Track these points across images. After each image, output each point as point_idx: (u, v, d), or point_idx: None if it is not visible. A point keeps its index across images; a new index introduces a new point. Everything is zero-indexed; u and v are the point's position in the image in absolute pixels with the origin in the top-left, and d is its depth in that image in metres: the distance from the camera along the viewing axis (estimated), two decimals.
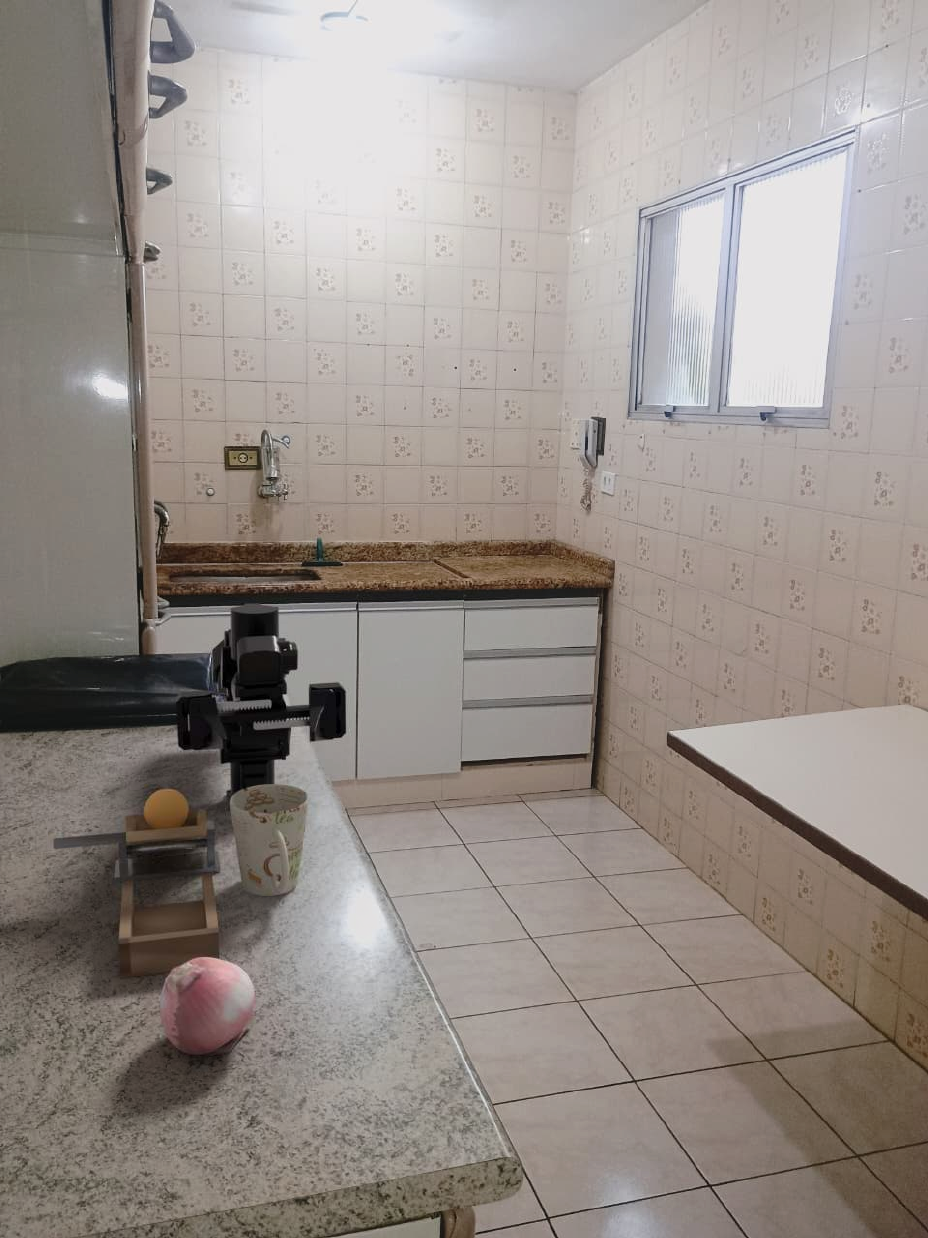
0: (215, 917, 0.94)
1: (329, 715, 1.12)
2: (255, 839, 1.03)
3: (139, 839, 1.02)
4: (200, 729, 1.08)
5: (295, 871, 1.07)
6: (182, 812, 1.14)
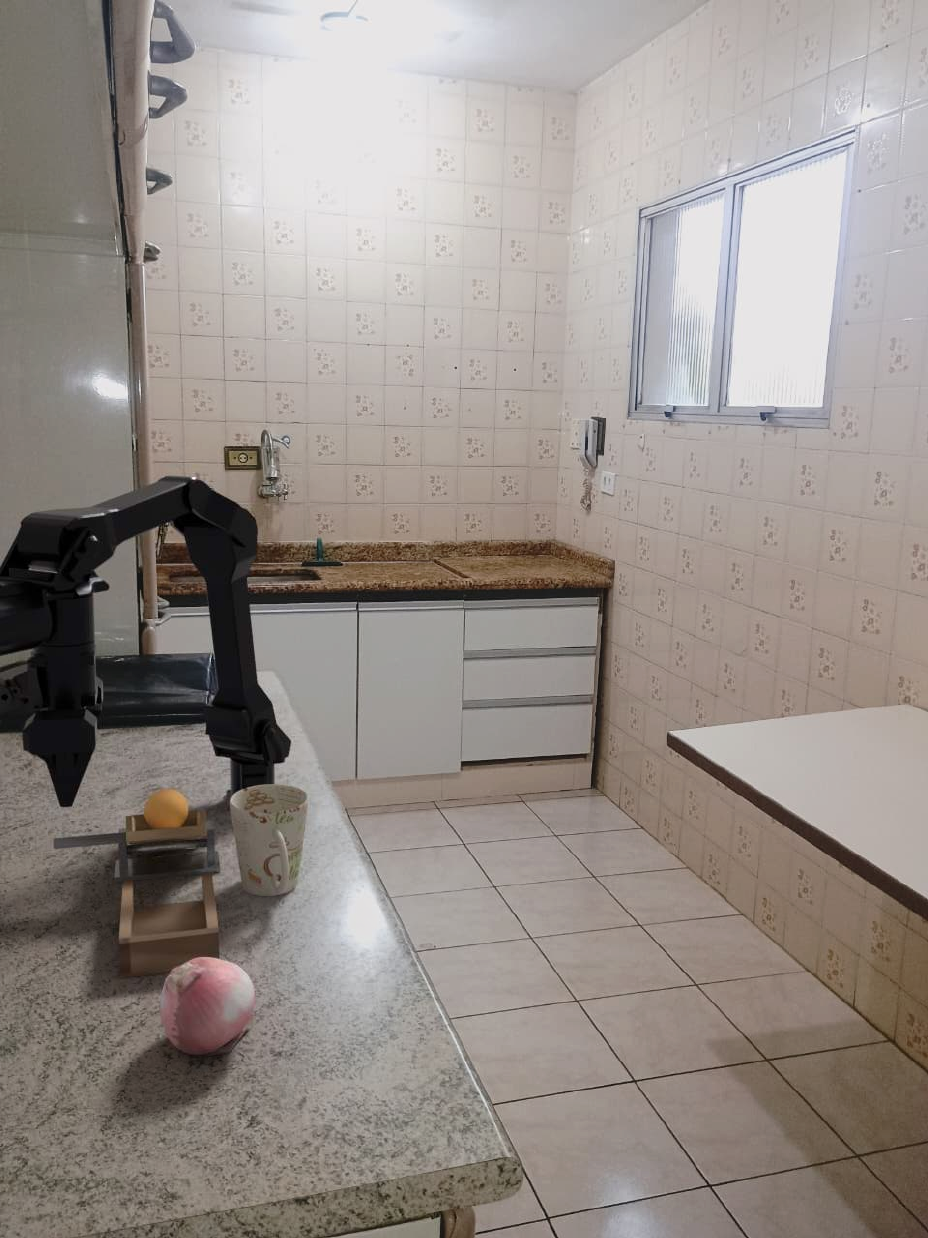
0: (215, 917, 0.94)
1: None
2: (255, 839, 1.03)
3: (139, 839, 1.02)
4: None
5: (295, 871, 1.07)
6: (182, 812, 1.14)
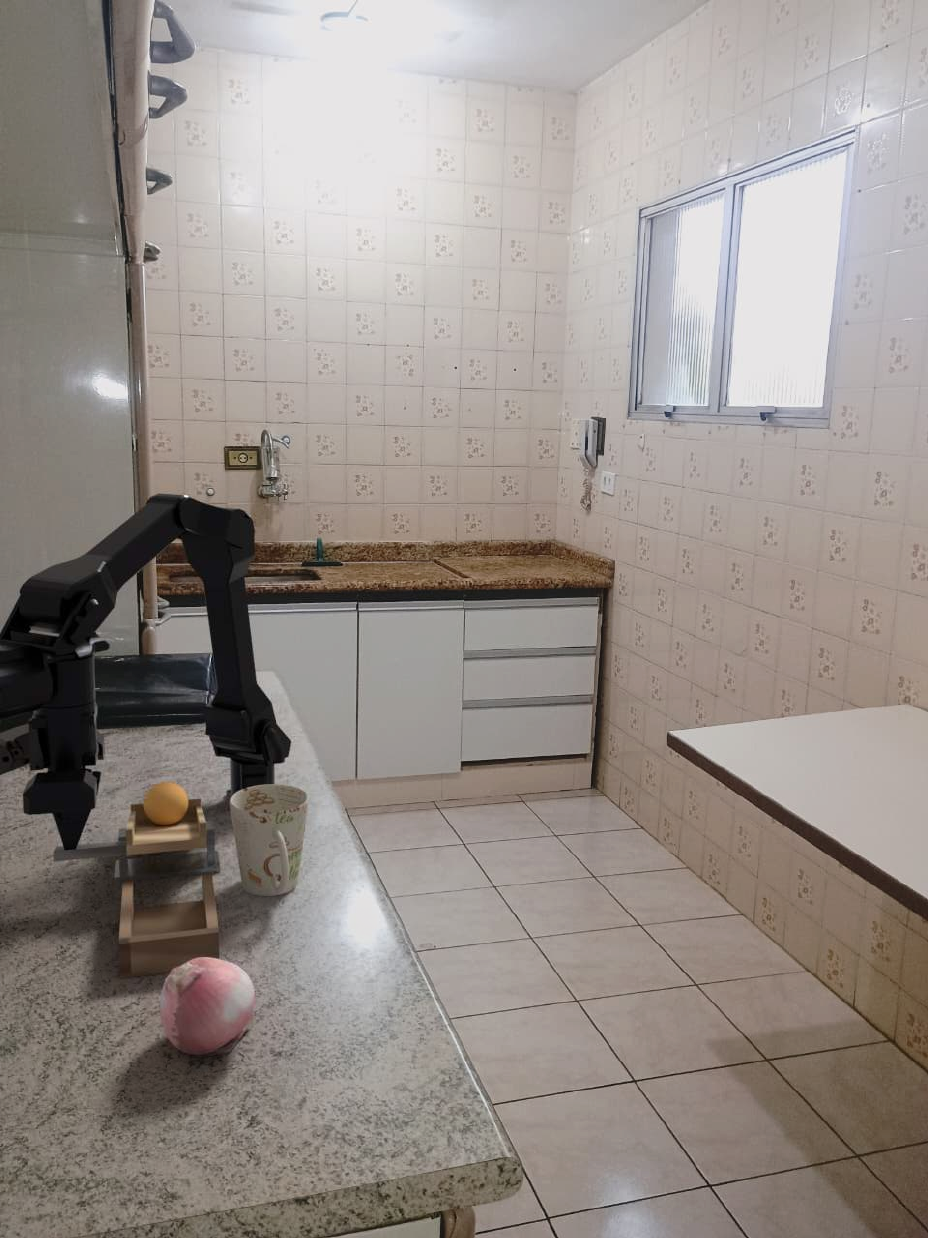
0: (215, 917, 0.94)
1: None
2: (255, 839, 1.03)
3: (139, 853, 1.02)
4: None
5: (295, 871, 1.07)
6: (181, 808, 1.14)
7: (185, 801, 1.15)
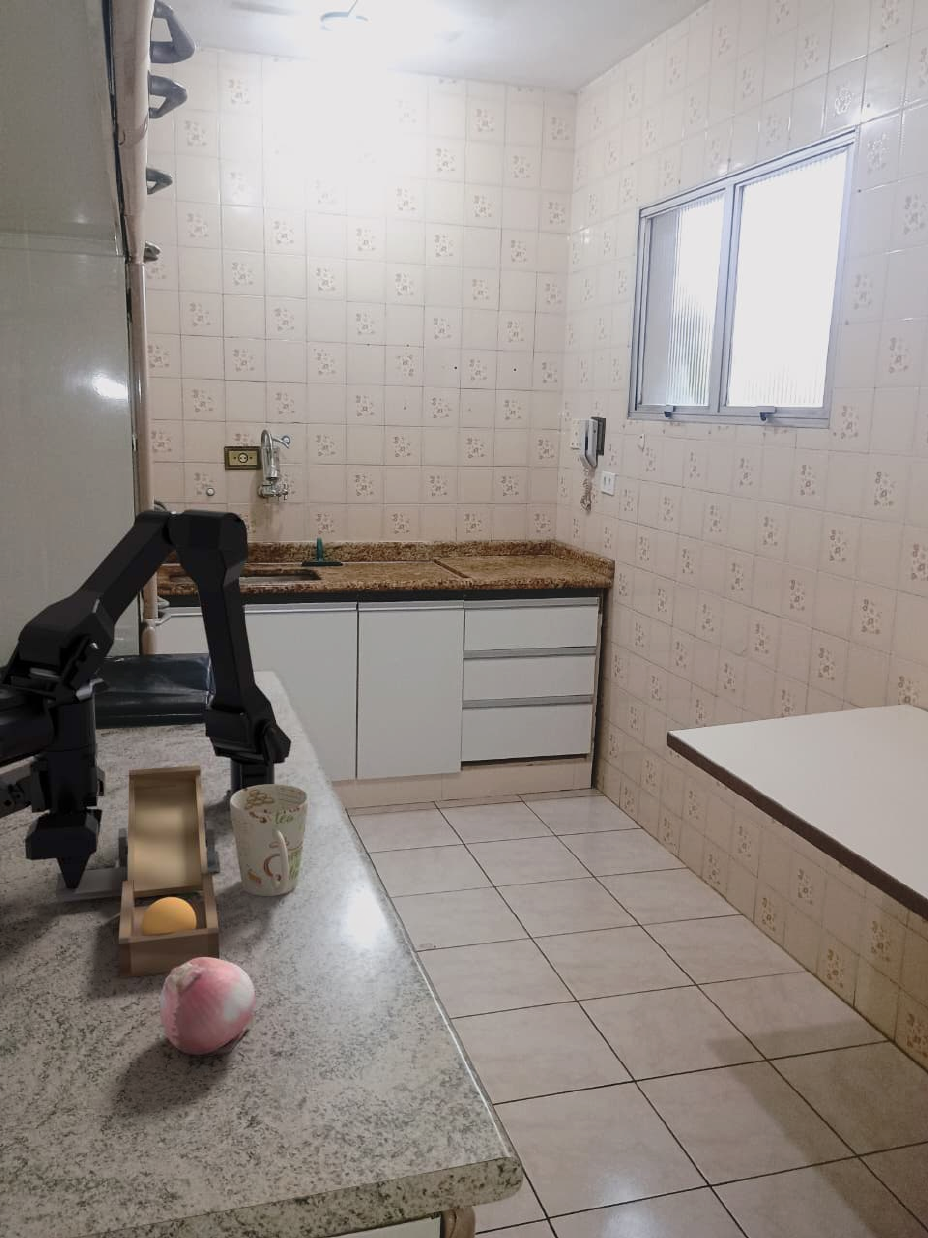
0: (215, 917, 0.94)
1: None
2: (255, 839, 1.03)
3: (141, 896, 1.04)
4: None
5: (295, 871, 1.07)
6: None
7: None
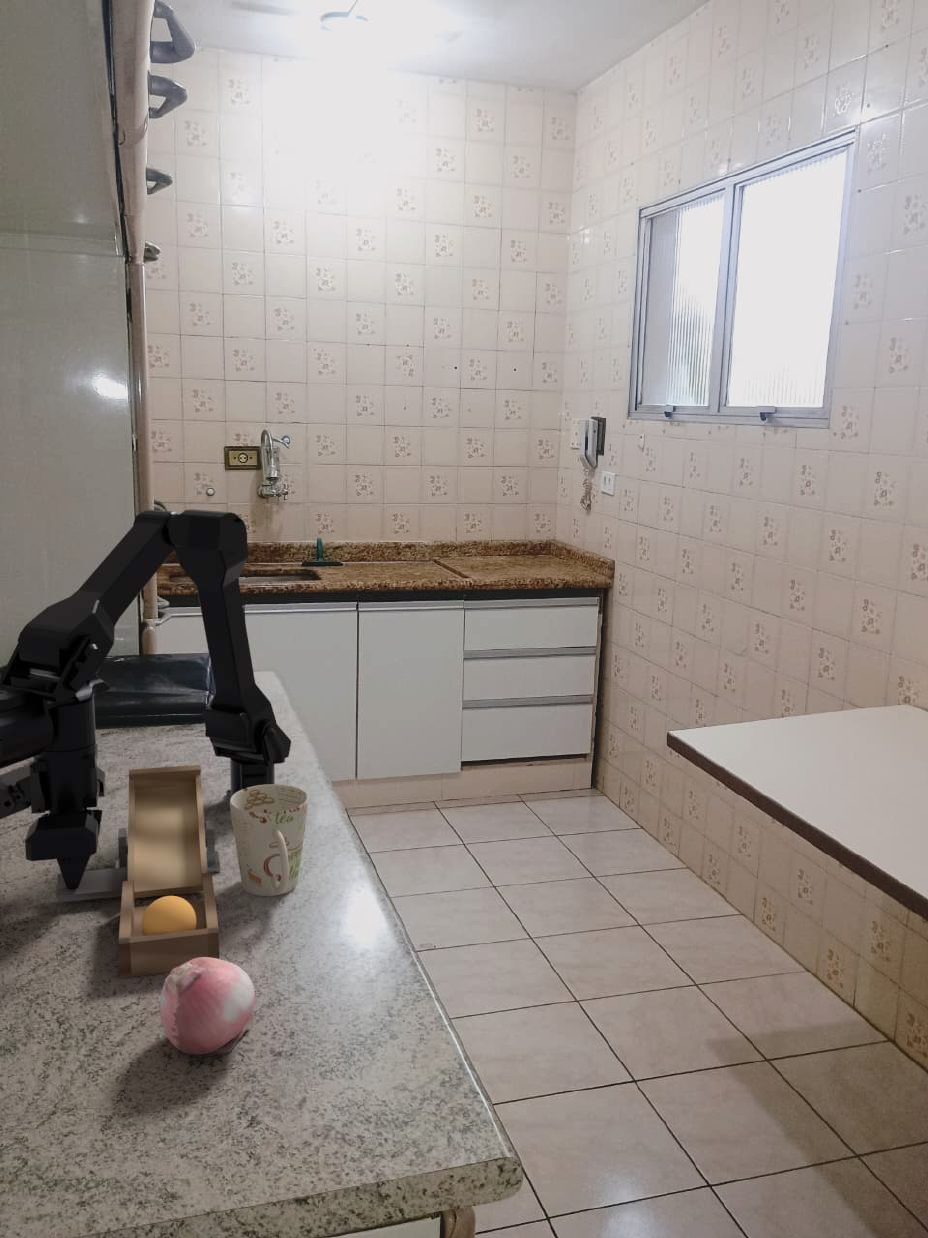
0: (215, 917, 0.94)
1: None
2: (255, 839, 1.03)
3: (141, 896, 1.04)
4: None
5: (295, 871, 1.07)
6: None
7: None
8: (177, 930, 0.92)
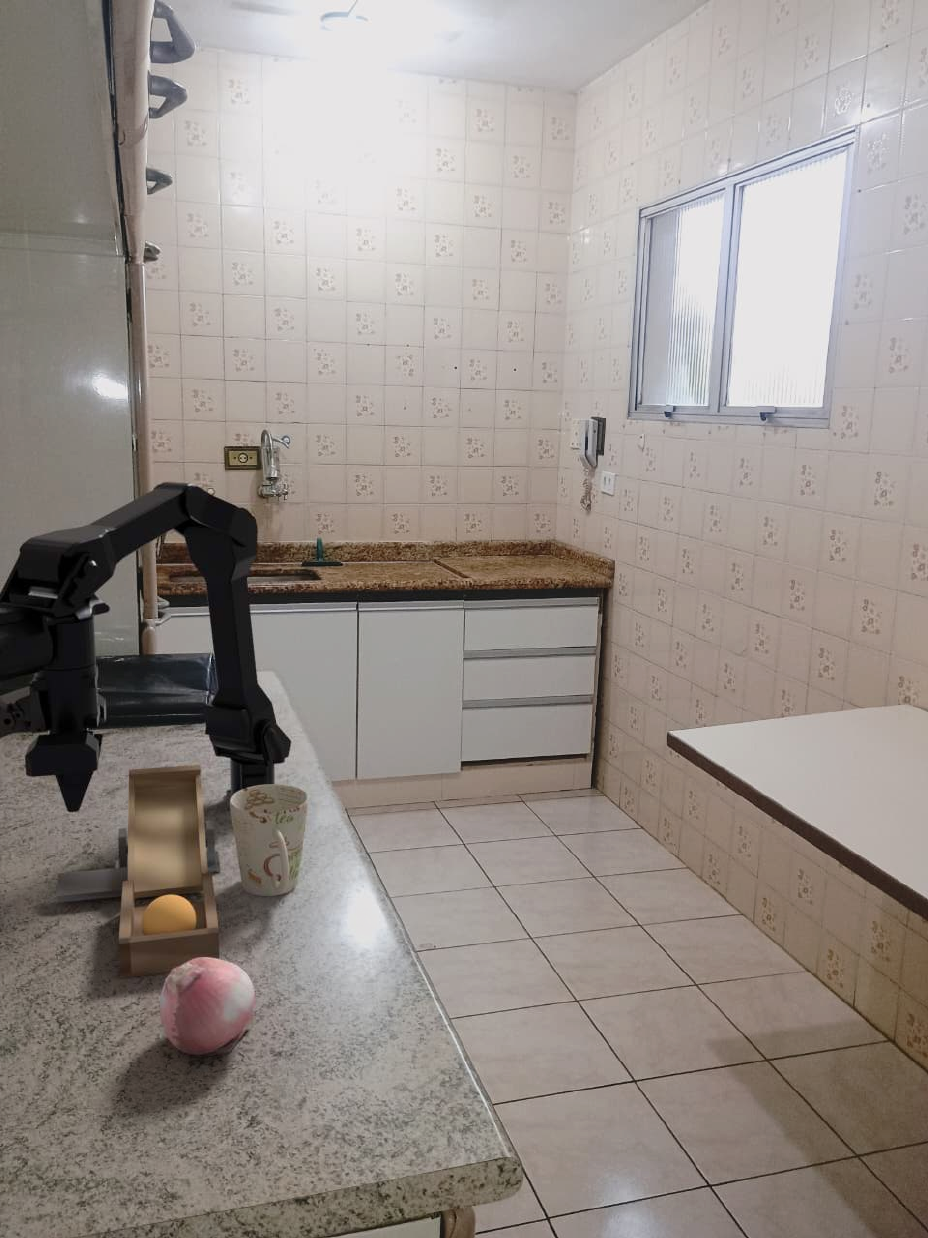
0: (215, 917, 0.94)
1: None
2: (255, 839, 1.03)
3: (141, 896, 1.04)
4: None
5: (295, 871, 1.07)
6: None
7: None
8: (177, 926, 0.92)
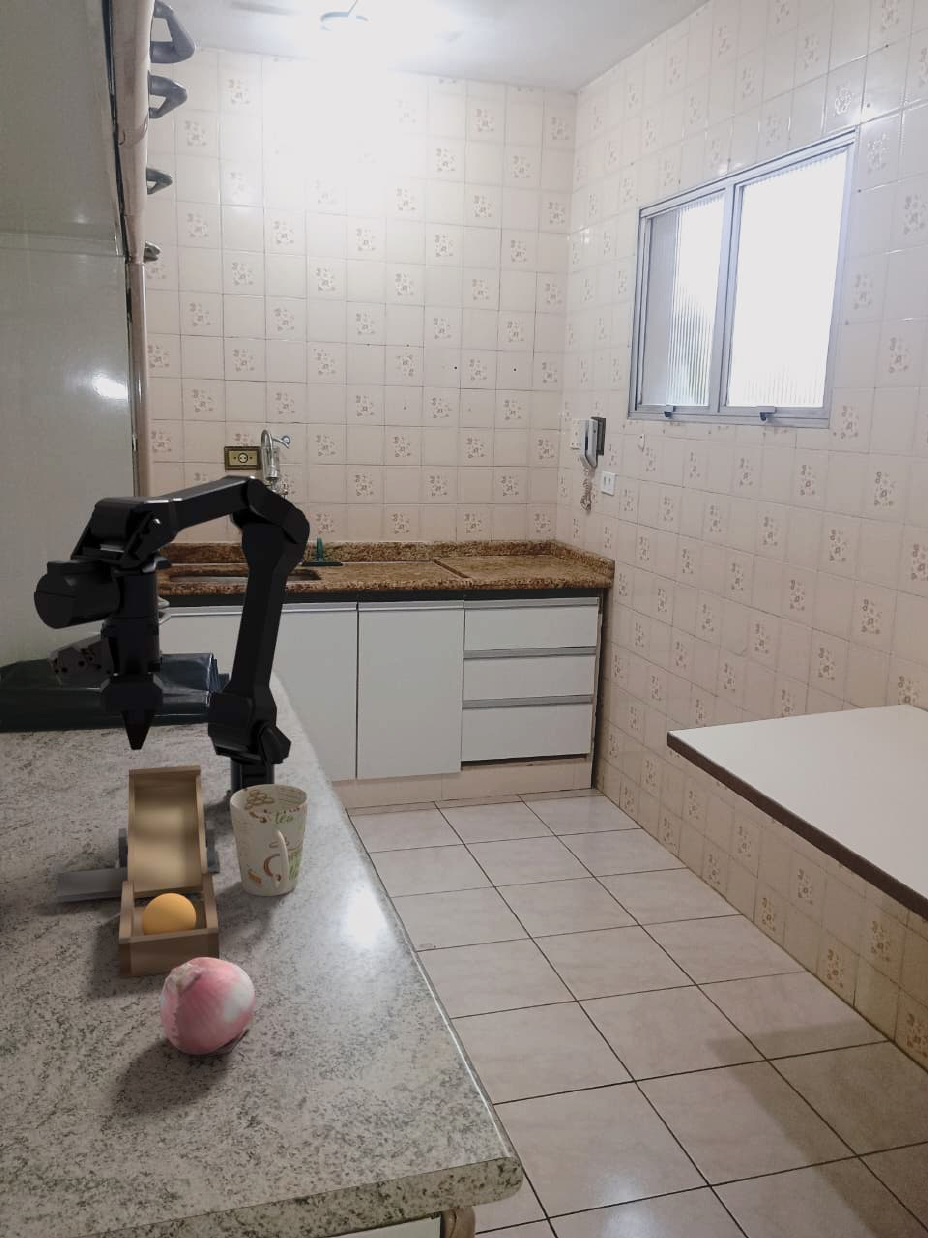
0: (215, 917, 0.94)
1: None
2: (255, 839, 1.03)
3: (141, 896, 1.04)
4: None
5: (295, 871, 1.07)
6: None
7: None
8: (177, 922, 0.92)
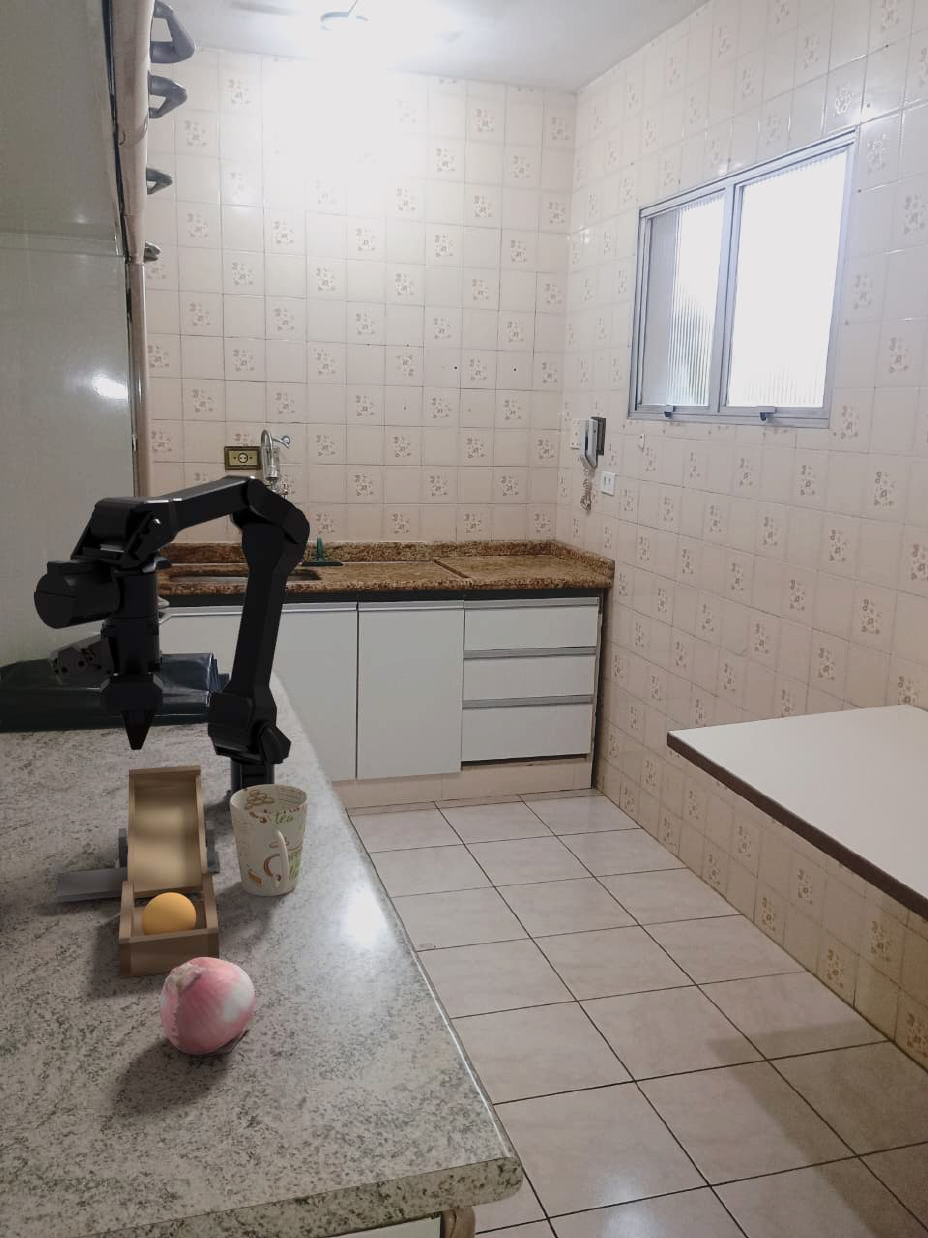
0: (215, 917, 0.94)
1: None
2: (255, 839, 1.03)
3: (141, 896, 1.04)
4: None
5: (295, 871, 1.07)
6: None
7: None
8: (177, 919, 0.93)
